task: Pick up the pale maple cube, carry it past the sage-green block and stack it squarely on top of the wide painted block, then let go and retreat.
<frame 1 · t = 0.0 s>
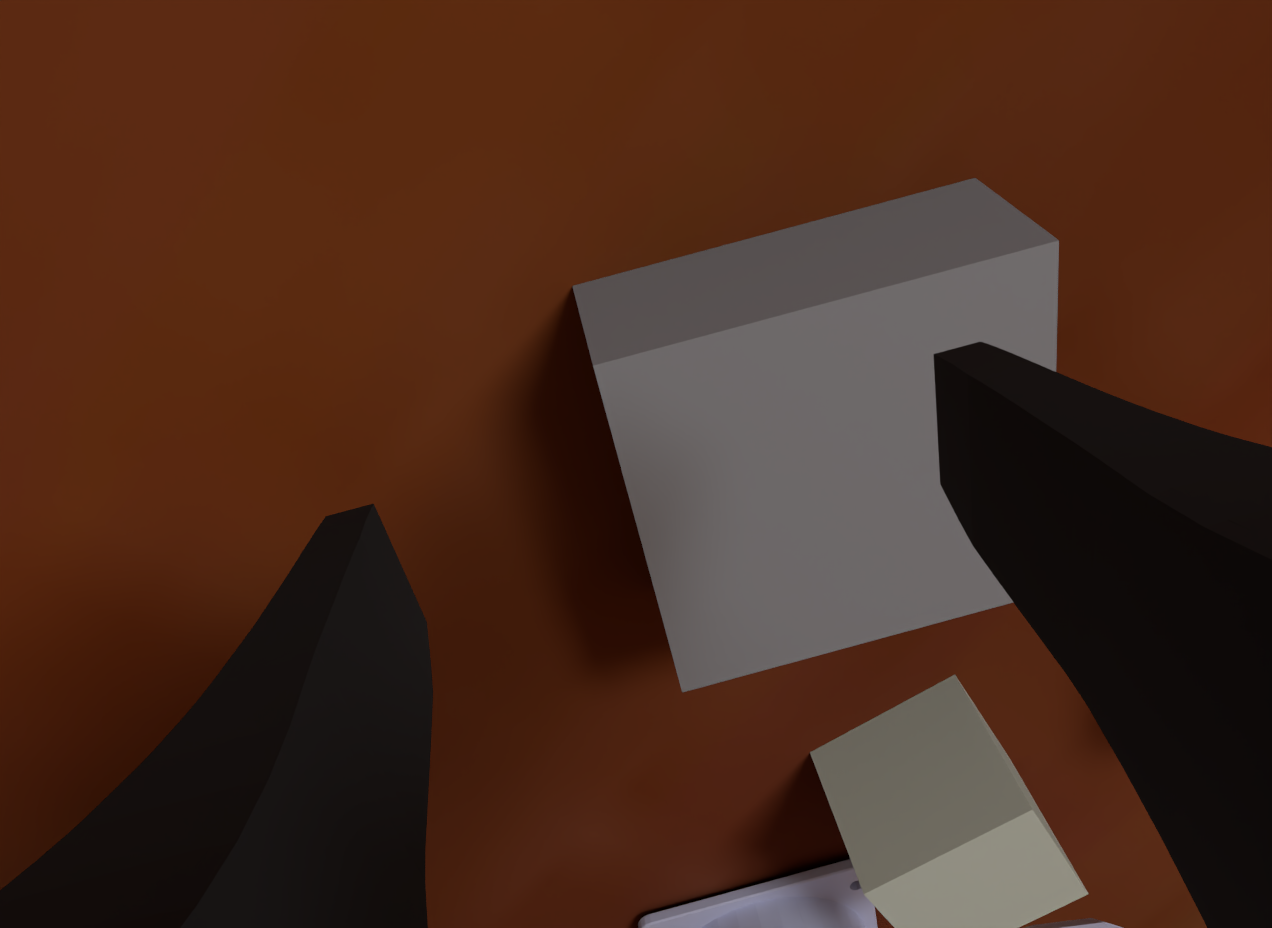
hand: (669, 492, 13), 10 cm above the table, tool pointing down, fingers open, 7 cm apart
sage block: (911, 754, 33), on the table
base block: (795, 398, 25), on the table
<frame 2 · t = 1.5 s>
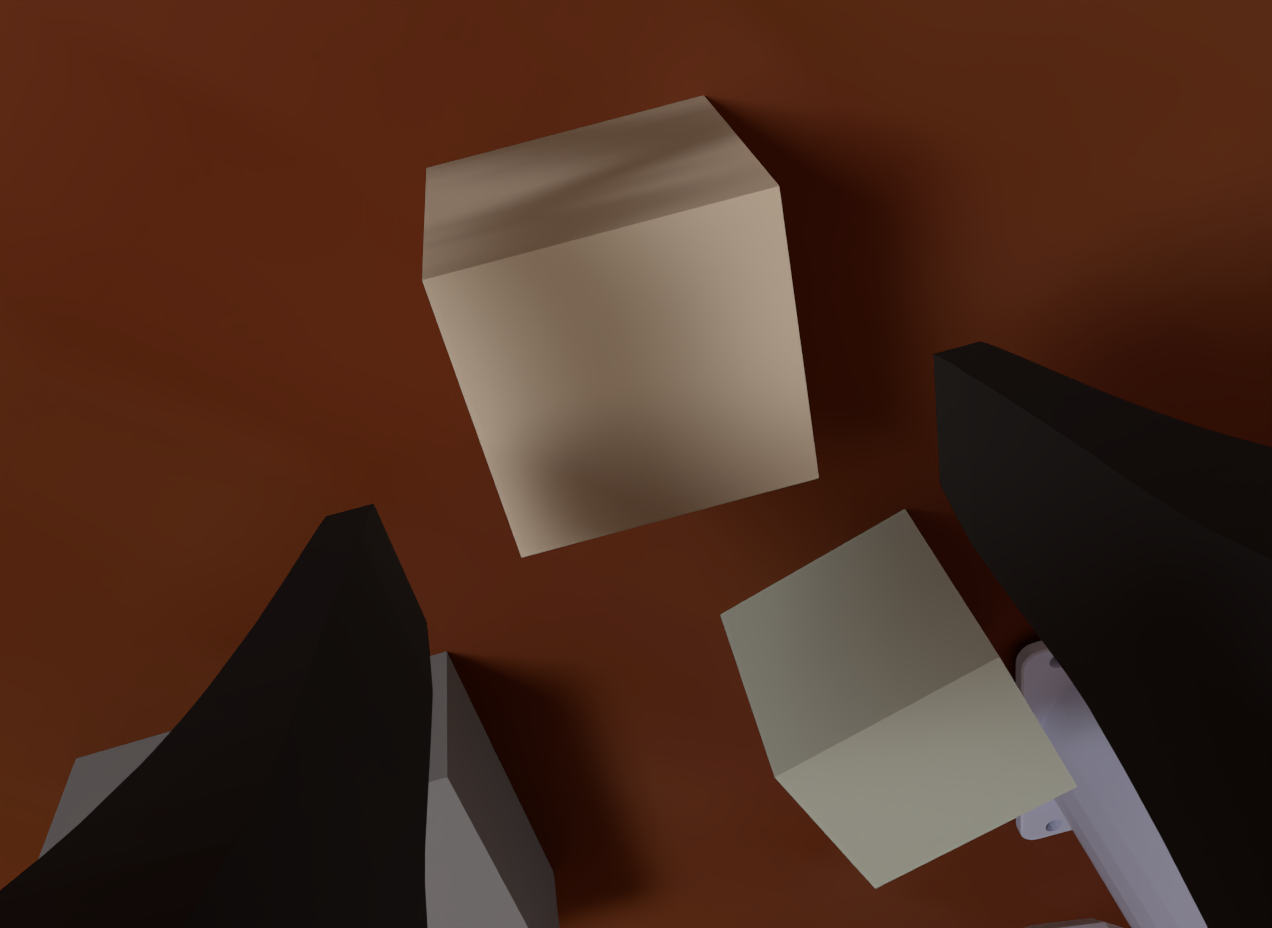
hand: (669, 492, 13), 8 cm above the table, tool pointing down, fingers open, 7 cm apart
sage block: (853, 622, 26), on the table
base block: (338, 810, 27), on the table
maple cube: (597, 260, 20), on the table
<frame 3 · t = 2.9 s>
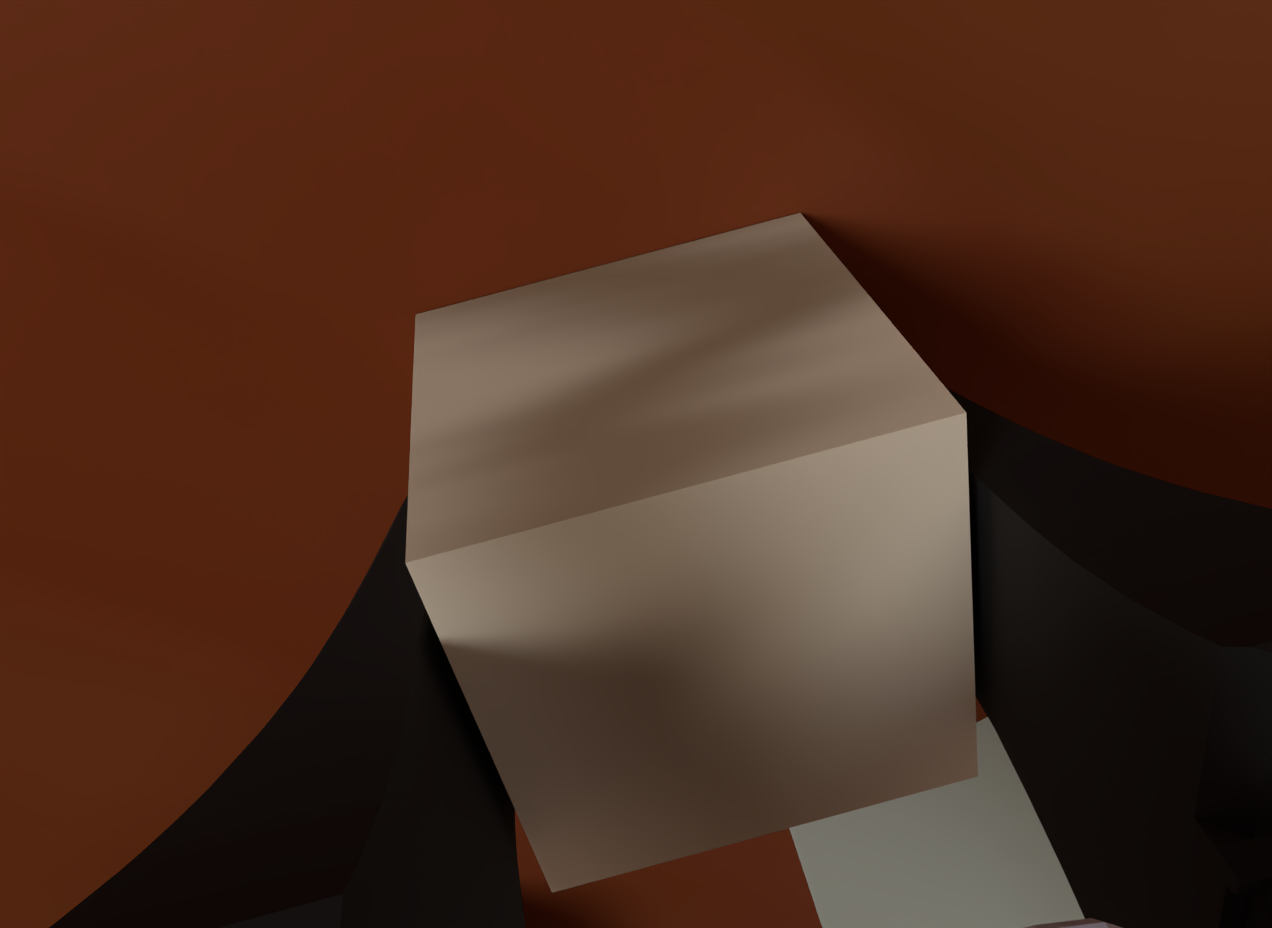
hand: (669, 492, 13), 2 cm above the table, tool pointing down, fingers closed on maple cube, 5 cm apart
sage block: (949, 821, 21), on the table
maple cube: (648, 426, 14), on the table, touching gripper
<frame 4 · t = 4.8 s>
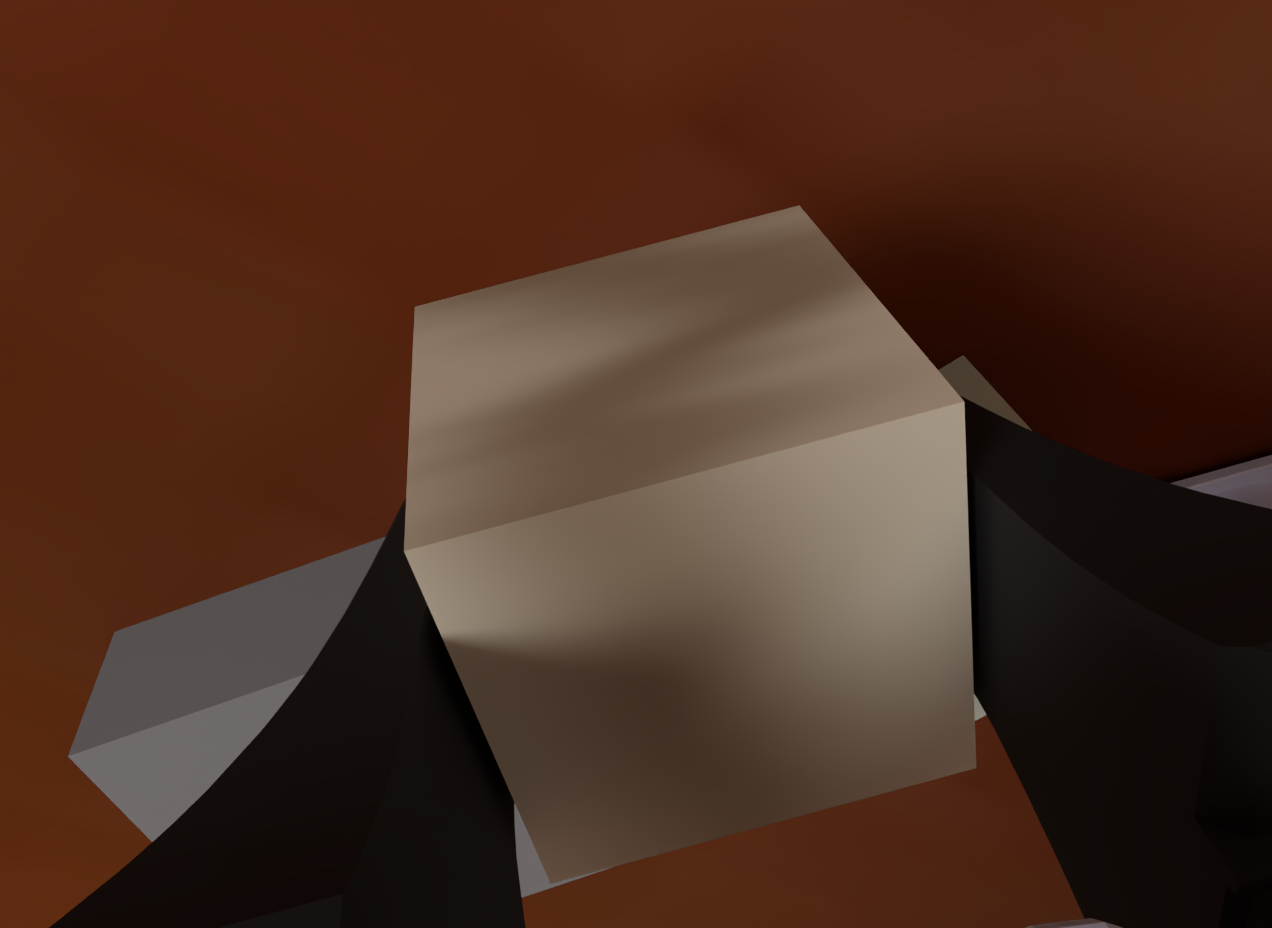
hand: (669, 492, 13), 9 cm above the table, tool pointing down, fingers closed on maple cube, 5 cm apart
sage block: (908, 482, 25), on the table
base block: (382, 686, 27), on the table
maple cube: (647, 419, 15), point 7 cm above the table, touching gripper
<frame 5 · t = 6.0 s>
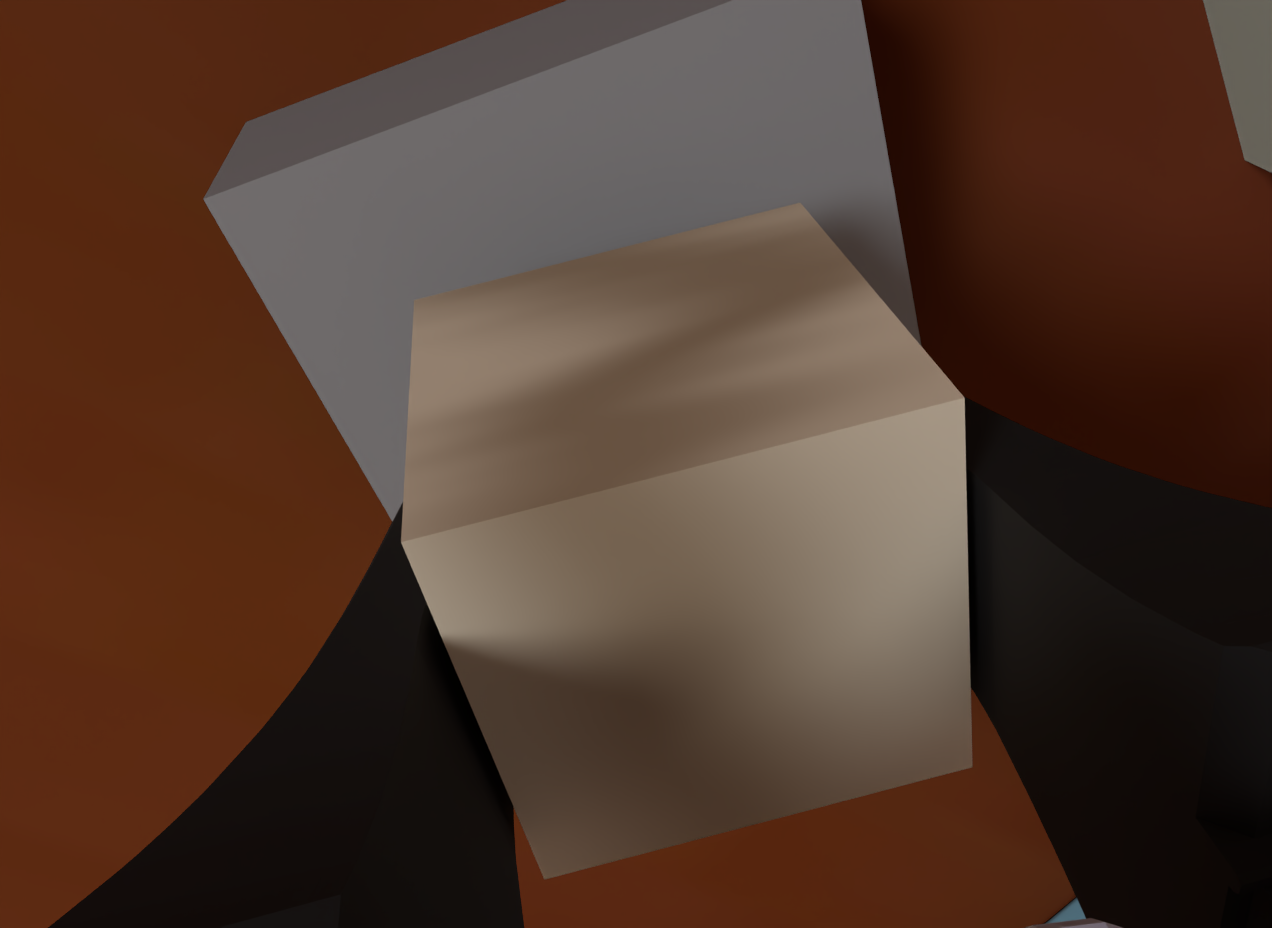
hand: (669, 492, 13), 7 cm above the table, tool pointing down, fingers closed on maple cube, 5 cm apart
base block: (596, 263, 19), on the table
data package: (1131, 890, 34), on the table
maple cube: (645, 416, 14), point 5 cm above the table, touching gripper
when the fingers open (7 cm above the table, at t = 6.9 s): maple cube drops 2 cm, resting on base block.
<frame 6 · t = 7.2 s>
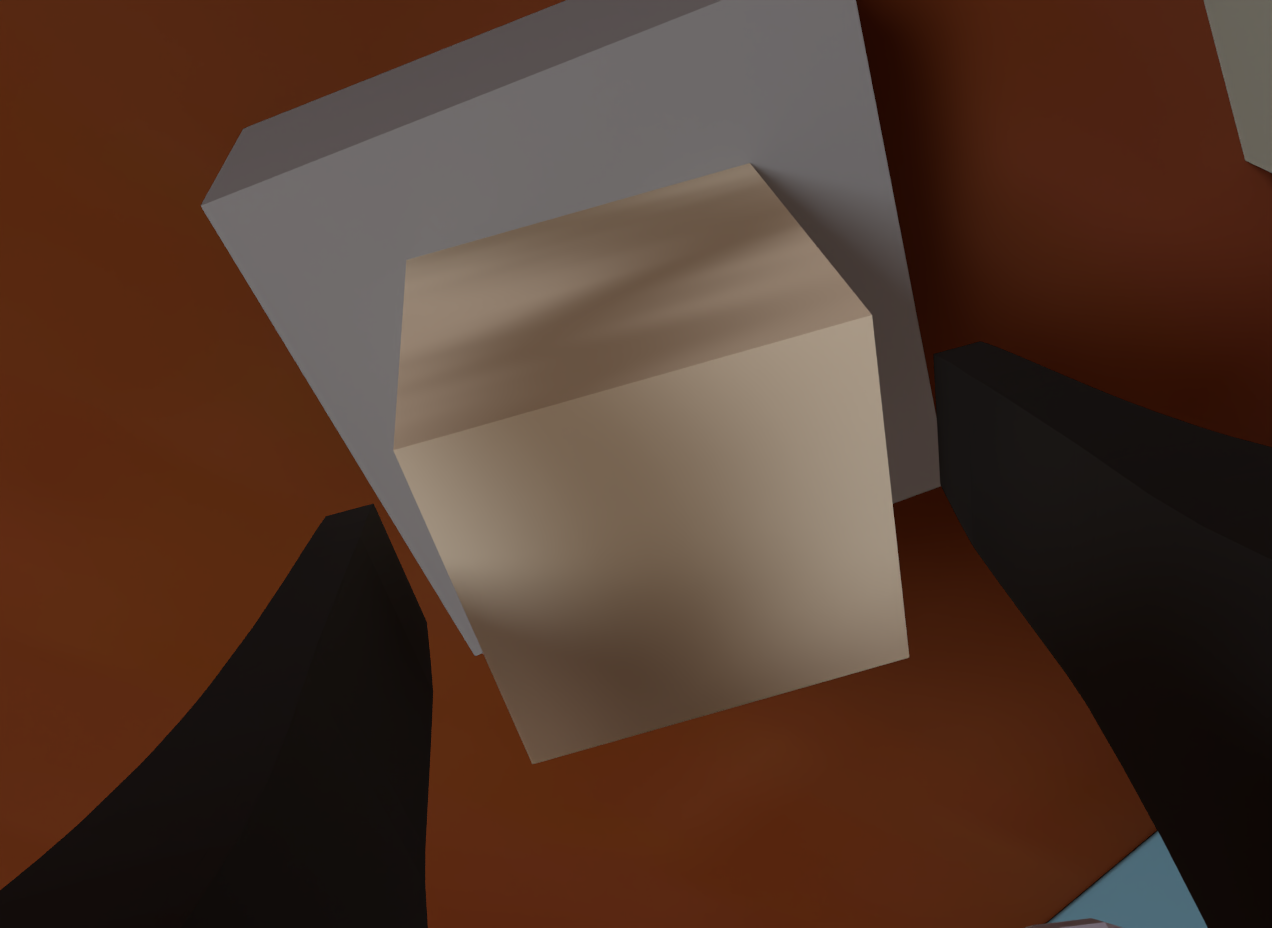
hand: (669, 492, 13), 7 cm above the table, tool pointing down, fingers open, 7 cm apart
base block: (596, 264, 19), on the table, touching maple cube
data package: (1131, 891, 34), on the table
maple cube: (619, 362, 16), point 4 cm above the table, touching base block
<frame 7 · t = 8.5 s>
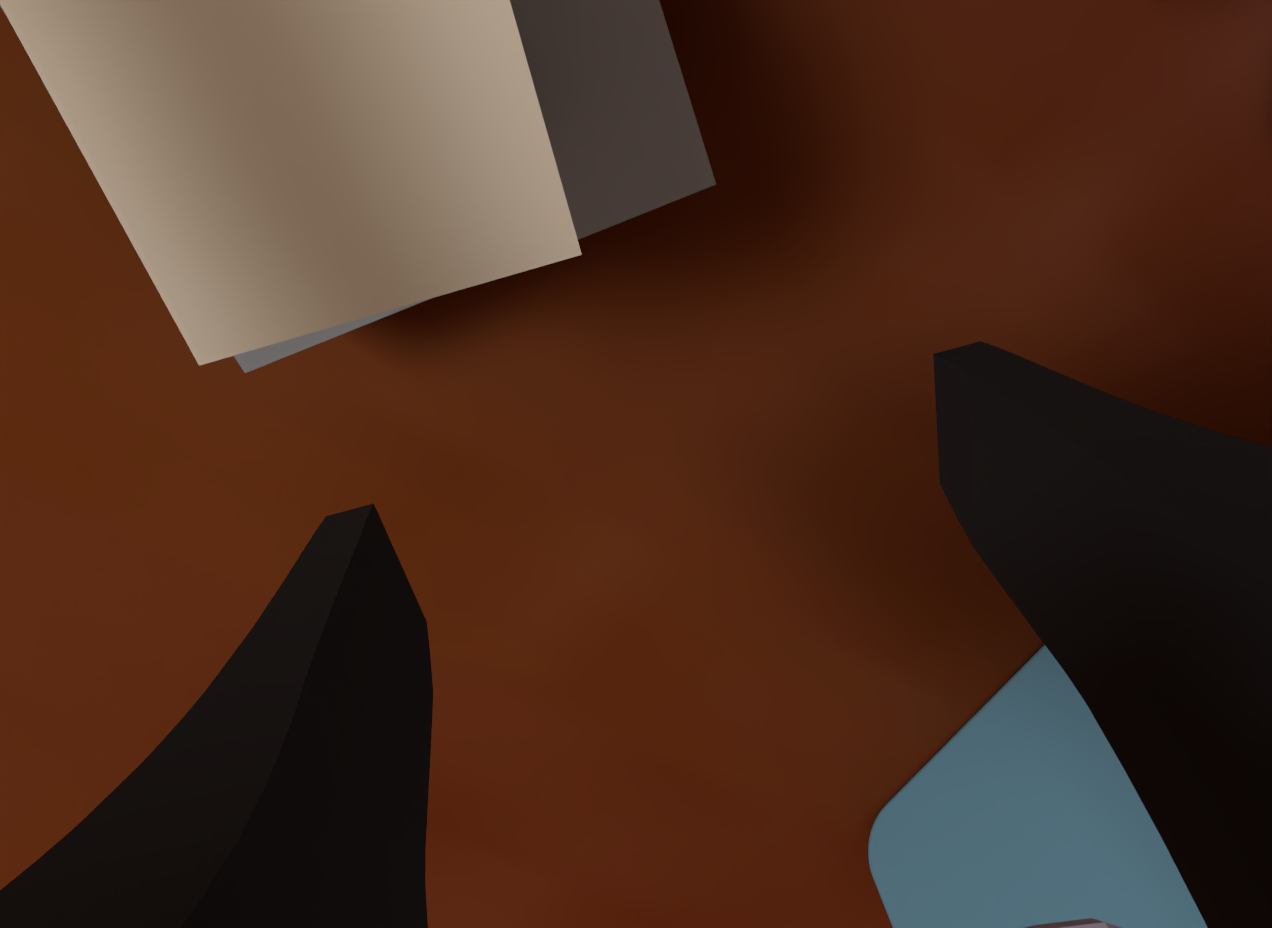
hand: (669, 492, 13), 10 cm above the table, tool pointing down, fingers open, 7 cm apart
data package: (1014, 730, 34), on the table
maple cube: (341, 26, 16), point 4 cm above the table
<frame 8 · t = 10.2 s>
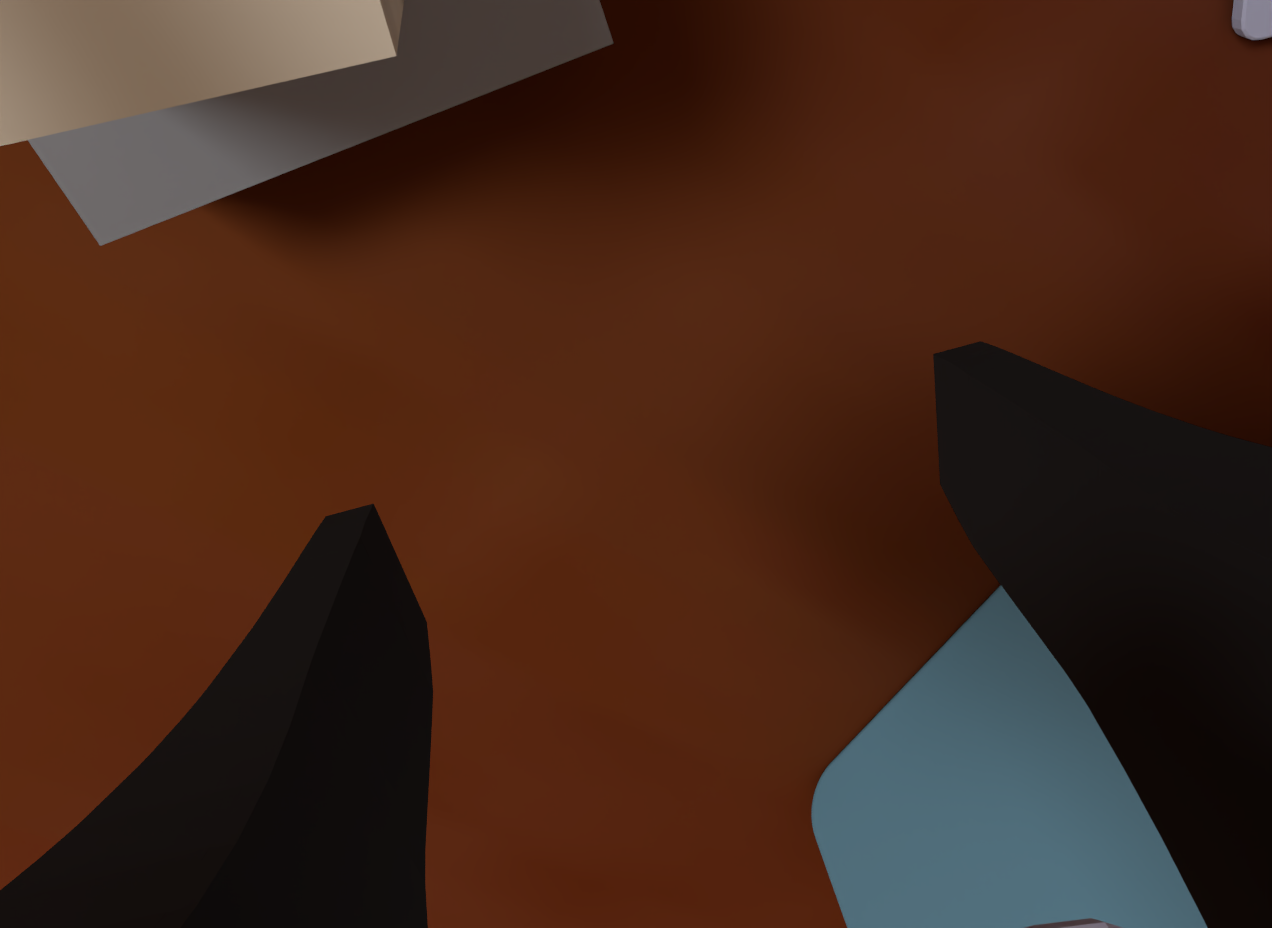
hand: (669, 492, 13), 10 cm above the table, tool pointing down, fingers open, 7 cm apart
data package: (965, 685, 32), on the table
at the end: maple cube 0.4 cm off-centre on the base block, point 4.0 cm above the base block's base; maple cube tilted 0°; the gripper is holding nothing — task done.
